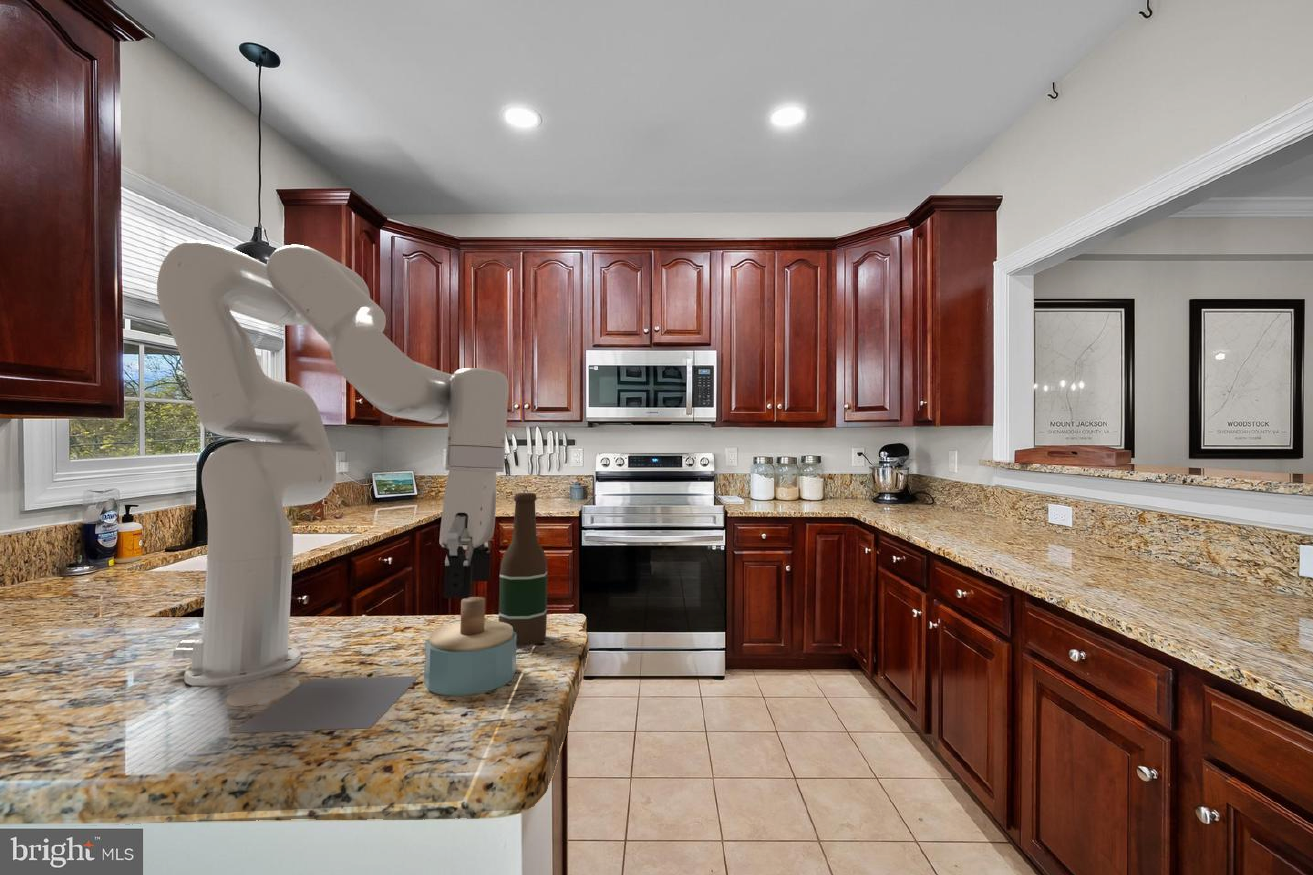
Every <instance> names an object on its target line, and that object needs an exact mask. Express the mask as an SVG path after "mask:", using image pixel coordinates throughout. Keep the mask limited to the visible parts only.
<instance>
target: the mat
mask: <svg viewBox="0 0 1313 875" xmlns="http://www.w3.org/2000/svg"><path fill="white" fill-rule="evenodd" d="M418 678H420V676H419V675H413V676H412V675H411V676H410V675H408V676H407V675H406V676H374V677H370V676H369V677H343V678H342V677H337V678H334V677H333V678H308V679H306V680H305V681H303V682H302V683H301V684H299V685H297V686H296V687H295V688H293V689H292V690H290V691H289V692H288V693H286V694H284V695H282V697H279V699H277V700H276V701H274V702H273V703H271V704H269V705H268V706H267V707H265V708H264V709H263V710H261V711H259V712H258V713H257V714H255V715H253V717H251V718H249V719H248V720H246V721H245V722H244V723H242V724H241V725H239V726H238V727H236V728H235V729H233V730H232V731H230V732H229V734H248V733H250V734H252V733H255V734H256V733H279V732H282V733H283V732H306V731H307V732H308V731H309V732H310V731H331V730H332V731H335V730H337V731H338V730H362V729H363V730H365V729H367V730H368V729H372V727H373V726H374V725H375V724H376V723H378V721H379V720H380V719H381V718H382V717H383V716H384V715H385V714H386V713H387V712H388V710H389V709H390V708H392V706H393V705H394V704H395V703H396V702H398V700H399V699H400V698H401V697H402V696H403V695H404V693H405V692H406V691H408V690H409V688H411V686H412V685H413V684H414V682H416V680H418Z"/></svg>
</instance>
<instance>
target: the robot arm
mask: <svg viewBox="0 0 1313 875" xmlns="http://www.w3.org/2000/svg"><path fill="white" fill-rule="evenodd" d="M158 271H159V272H158V276H157V283H156V295H157V301H158V304H159V308H160V312H161V313H162V316H163V319H164V321H165V323H166V326H167V327H168V330H169V331H170V333H171V336H172V337H173V340H174V342H175V344H176V347H177V350H178V353H179V356H180V359H181V364H182V368H183V370H184V371H183V372H184V374H185V378H186V381H187V384H188V389H189V392H190V395H191V399H192V402H193V406H194V408H195V412H196V415H197V417H198V419H199V421H200V423H201V425H202V426H203V427H204V428H205V429H206V430H207V431H209V432H210V433H213V434H215V435H218V436H221V437H222V436H224V437H229V438H231V437H232V438H238V439H239V438H240V439H252V440H247V441H245V440H243V441H238V442H232V443H229V444H225V445H224V446H221V447H219V448H218V449H216V450H215V451H213V452H212V453H211V454H210V455H209V457H208V458H207V459H206V460H205V462H204V464H203V468H202V472H201V487H202V492H203V493H202V494H203V499H204V502H205V508H206V516H207V550H206V551H207V552H206V571H205V584H204V585H205V587H204V588H205V589H204V603H203V622H202V638H201V639H183V640H181V641H180V642H179V643H178V645H177V647H176V648H175V649H174V651H173V652H172V657H173V658H174V659H188V658H189V659H191V666H189V667H188V668H187V669H186V670H185V672H184V675H183V676H184V677H183V681H184V683H186V684H187V685H189V686H191V687H192V686H197V687H220V686H229V685H231V686H232V685H238V684H243V683H248V682H252V681H257V680H261V679H265V678H268V677H272V676H275V675H277V674H280V673H282V672H286V671H287V670H290V669H291V668H293V667H295V666H297V665H298V664H299V663H300V661H301V660H302V659H301V657H302V652H301V650H299V649H298V648H296V647H293V646H289V642H290V641H289V638H290V619H291V600H292V596H291V595H292V580H293V578H292V577H293V562H294V561H293V560H294V559H293V558H294V555H293V554H294V535H293V528H292V527H291V526H292V525H291V523H290V521H289V518H288V517H287V514H286V511H285V509H284V508H285V507H294V506H304V505H310V504H315V503H317V502H319V501H321V500H323V499H325V498H326V497H327V496H328V495H329V494H330V493H331V491H332V490H333V488H334V486H335V483H336V480H337V467H336V462H335V457H334V455H333V454H334V453H333V452H332V448H331V443H330V442H329V438H328V436H327V433H326V429H325V426H324V422H323V420H322V416H321V414H320V410H319V408H318V406H317V403H316V402H315V400H314V399H313V397H312V396H311V395H310V393H308V392H307V391H306V390H305V389H304V388H302V387H301V386H298V385H297V384H294V383H292V382H289V381H283V380H280V379H275V378H272V377H269V376H268V375H267V374H266V373H264V371H263V369H262V367H261V365H260V362H259V359H258V357H257V353H256V349H255V346H254V344H253V342H252V339H251V338H250V336H249V335H248V333H247V332H246V331H245V329H244V327H242V326H241V324H240V323H239V322H238V321H237V320H236V318H235V317H234V316H233V313H231V311H232V312H234V313H237V314H240V315H244V316H246V317H249V318H252V319H255V320H259V321H261V322H265V323H268V324H272V325H279V326H302V325H303V326H306V325H308V326H311V327H312V328H313V329H314V330H315V331H316V332H317V334H318V335H319V336H320V337H321V338H323V339H324V340H325V341H326V342H327V344H328V345H329V350H330V354H331V357H332V359H333V363H334V365H335V367H336V368H337V370H338V372H339V373H340V375H342V377H343V378H344V379H345V380H346V381H347V382H348V383H349V384H350V385H351V386H352V387H353V388H354V389H355V390H356V391H357V392H358V393H359V394H360V395H361V396H363V398H364V399H365V400H366V401H368V402H369V403H370V404H371V405H372V406H373V407H374V408H376V409H378V410H379V411H380V412H382V413H384V414H387V415H389V416H390V417H395V418H401V419H406V420H411V421H417V422H420V423H421V422H422V423H427V424H432V425H433V424H434V425H435V424H436V425H438V424H439V425H441V424H443V425H444V424H447V435H446V436H447V438H446V451H445V454H446V455H445V467H444V471H448V474H447V480H446V484H445V490H444V494H443V503H442V512H441V521H440V530H439V539H438V540H439V541H438V542H439V545H440V546H441V547H442V548H446V549H445V551H444V552H445V555H446V556H445V558H444V559H445V560H444V579H443V593H442V595H443V598H445V599H467V598H469V597H472V596H471V595H472V583H473V582H487V581H489V580H490V572H491V571H490V570H491V559H492V557H491V556H492V553H491V550H492V543H491V539H493V536H494V533H495V525H496V524H495V523H496V507H497V473H504V471H505V457H506V456H505V454H506V438H507V420H508V407H509V406H508V405H509V404H508V403H509V401H508V399H509V380H508V378H507V376H506V375H505V374H503V373H502V372H499V371H497V370H492V369H488V368H480V367H479V368H478V367H464V368H460V369H457V370H455V371H454V373H453V374H452V373H447V372H445V371H441V370H438V369H435V368H433V367H431V366H428V365H427V364H423V363H420V362H417V361H414V360H413V359H411V358H410V357H409V356H407V355H406V354H405V353H404V352H403V351H402V350H401V349H400V348H399V347H398V346H396V345H395V343H394V342H392V340H390V339H389V338H388V337H387V336H386V335H385V334H384V333H383V332H384V330H385V328H386V325H387V324H386V322H387V321H386V320H387V319H386V318H387V317H386V314H385V312H384V311H383V309H382V308H381V307H380V306H379V304H377V303H376V302H375V301H374V300H373V299H372V298H371V294H370V289H369V287H368V285H367V283H366V282H365V280H364V278H363V277H362V276H361V275H359V274H358V273H357V272H356V271H355V270H353V269H351V268H349V266H348V267H347V266H346V265H344V264H342V263H341V262H339V261H337V260H335V259H333V258H332V257H331V256H328V255H327V254H325V253H323V252H321V251H319V250H317V249H315V248H313V247H310V246H306V245H305V246H304V245H301V244H291V245H284V246H282V247H279V248H277V249H275V250H274V251H273V252H272V253H271V255H269V257H268V259H267V261H266V263H264V262H261V261H259V260H258V259H256V258H253V257H251V256H249V255H248V254H245V253H242V252H240V251H238V250H236V249H234V248H232V247H228V246H225V245H223V244H218V243H215V242H211V241H205V240H190V241H185V242H181V243H180V244H178V245H176V246H174V248H173V247H172V249H171V250H169V252H168V253H167V254H166V256H165V257H164V259H163V261H162V264H161V265H160V267H159V270H158ZM260 440H264V441H260ZM173 658H172V659H173Z"/></svg>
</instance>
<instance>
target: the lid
mask: <svg viewBox="0 0 1313 875" xmlns="http://www.w3.org/2000/svg"><path fill="white" fill-rule="evenodd" d="M460 601H461V602H460V622H457V623H452V624H447V625H445V626H442V627H439V628H437V629H435V630H433V631H432V632H431V633H430V635H429V639H430V645H431V646H432V647H433V648H436V649H439V650H444V651H474V650H481V649H486V648H491V647H494V646H497V645H500V644H503V643H505V642H507V641H508V640H510V639H511V638H512V636H513V627H512V626H511V625H509V624H507V623H504V622H499V620H485V619H486V618H485V615H486V614H485V611H486V609H485V608H486V598H485V597H483V596H470V597H469V598H467V599H463V598H461V600H460Z"/></svg>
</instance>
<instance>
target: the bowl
mask: <svg viewBox="0 0 1313 875" xmlns="http://www.w3.org/2000/svg"><path fill="white" fill-rule="evenodd" d="M516 640H517V634H516V633H515V632H514V631H513V636H512V638H511V639H510V640H508V641H507V642H505V643H503V644H500V645H497V646H494V647H491V648H486V649H481V650H474V651H444V650H439V649H436V648H433V647H432V646H431V645H430V638H429V639H428V640H426V642H425V643H424V645H425V646H424V647H425V648H424V672H423V673H424V674H423V676H424V677H423V678H424V679H423V683H424V684H425V687H426V689H427V690H428V691H429V692H431V693H433V694H437V695H441V696H447V697H456V696H457V697H462V696H464V697H465V696H473V695H479V694H483V693H488V692H491V691H494V690H497V689H499V688H501V687H504V686H506V685H507V684H508V683H510V682H511V681H512V680H513V679H514V677H515V673H516V672H517V646H516Z"/></svg>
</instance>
